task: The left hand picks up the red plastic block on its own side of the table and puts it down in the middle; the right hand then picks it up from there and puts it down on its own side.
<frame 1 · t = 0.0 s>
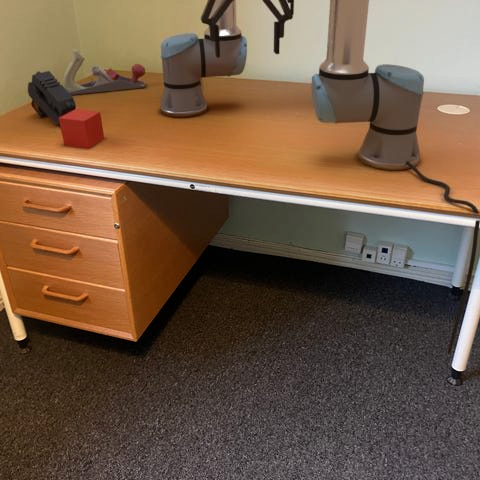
left hand: (247, 54, 121), 28 cm above the table, tool pointing down, fingers open, 13 cm apart
right hand: (313, 13, 166), 28 cm above the table, tool pointing down, fingers open, 13 cm apart
hand plane: (105, 89, 198), on the table
tool: (56, 120, 170), on the table
block: (84, 141, 153), on the table
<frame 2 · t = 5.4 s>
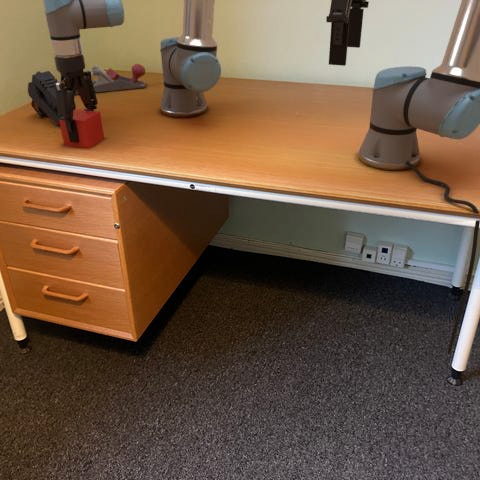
left hand: (83, 136, 153), 2 cm above the table, tool pointing down, fingers closed on block, 8 cm apart
right hand: (345, 55, 92), 34 cm above the table, tool pointing down, fingers open, 13 cm apart
block: (84, 141, 153), on the table, touching left hand
everything else where it was.
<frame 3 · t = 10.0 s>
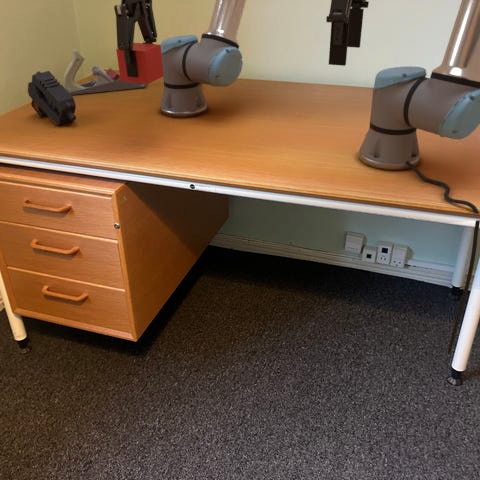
left hand: (141, 72, 139), 21 cm above the table, tool pointing down, fingers closed on block, 8 cm apart
right hand: (345, 55, 92), 34 cm above the table, tool pointing down, fingers open, 13 cm apart
block: (142, 78, 139), point 19 cm above the table, touching left hand
everything else where it was.
when the left hand's fingers open (3 cm above the table, at t = 14.7 s): block drops 1 cm, on the table.
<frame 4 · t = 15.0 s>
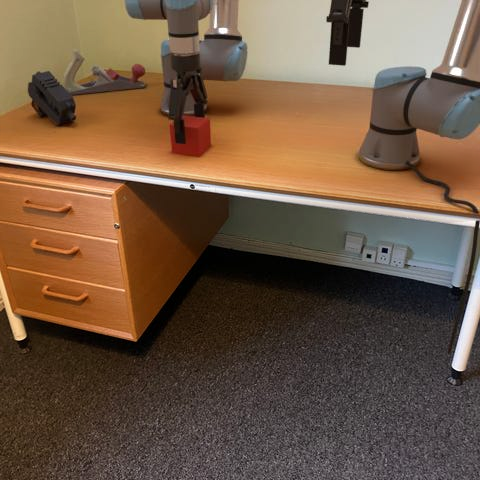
left hand: (190, 135, 145), 4 cm above the table, tool pointing down, fingers open, 12 cm apart
right hand: (345, 55, 92), 34 cm above the table, tool pointing down, fingers open, 13 cm apart
block: (191, 149, 147), on the table
everything else where it was.
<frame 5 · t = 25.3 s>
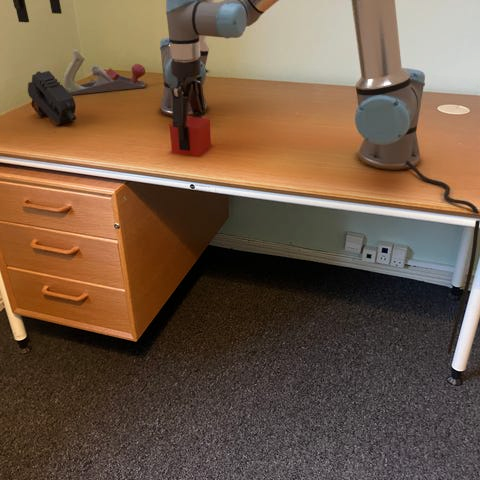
left hand: (41, 17, 142), 32 cm above the table, tool pointing down, fingers open, 13 cm apart
right hand: (191, 143, 146), 2 cm above the table, tool pointing down, fingers closed on block, 8 cm apart
block: (191, 149, 147), on the table, touching right hand
everything else where it was.
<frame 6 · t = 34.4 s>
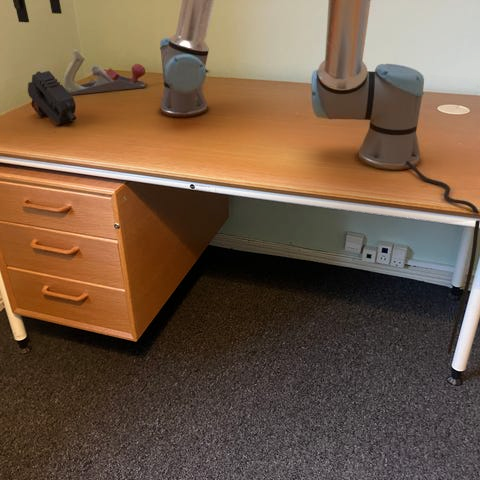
left hand: (41, 17, 142), 32 cm above the table, tool pointing down, fingers open, 13 cm apart
block: (346, 4, 146), point 33 cm above the table, touching right hand
everything else where it was.
when the right hand's fingers open (3 cm above the table, at t = 43.9 s): block drops 1 cm, on the table.
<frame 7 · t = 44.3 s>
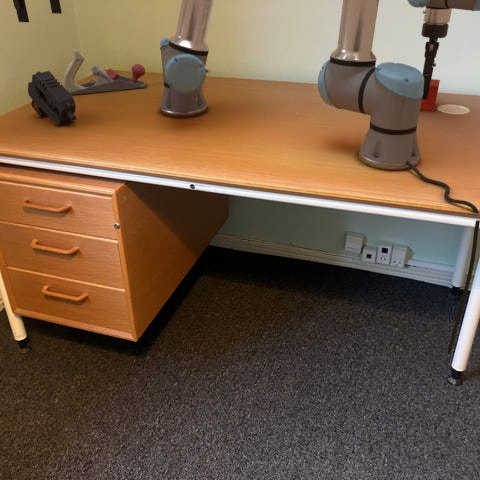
left hand: (41, 17, 142), 32 cm above the table, tool pointing down, fingers open, 13 cm apart
right hand: (424, 92, 172), 4 cm above the table, tool pointing down, fingers open, 13 cm apart
block: (421, 106, 175), on the table
everything else where it was.
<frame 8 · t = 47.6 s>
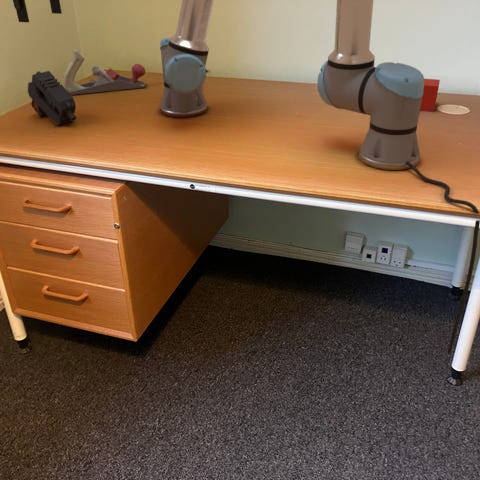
left hand: (41, 17, 142), 32 cm above the table, tool pointing down, fingers open, 13 cm apart
nothing on the table moved.
at the end: block inside the target area (0.1 cm from its centre), on the table; block tilted 0°; the two hands never held the block at the same time; the left hand is holding nothing; the right hand is holding nothing; block at rest at the end (0.0 cm/s) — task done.
